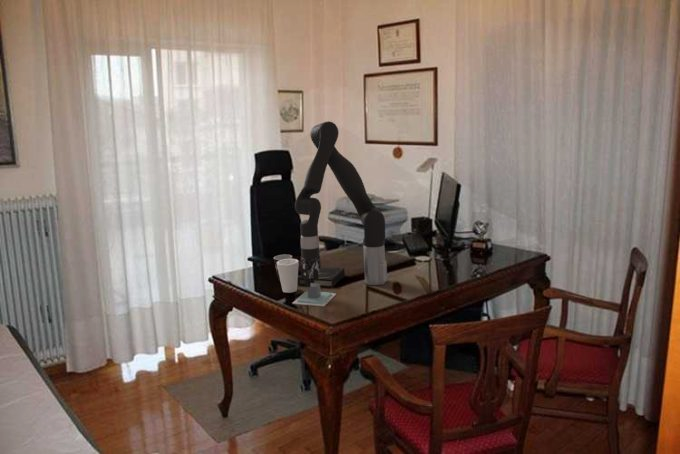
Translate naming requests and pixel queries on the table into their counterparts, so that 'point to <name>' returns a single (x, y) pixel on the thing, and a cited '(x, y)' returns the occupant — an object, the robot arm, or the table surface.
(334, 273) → the portable cd player
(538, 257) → the table surface
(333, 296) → the tray
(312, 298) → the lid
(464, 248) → the table surface
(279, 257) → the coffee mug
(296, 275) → the foam cup
